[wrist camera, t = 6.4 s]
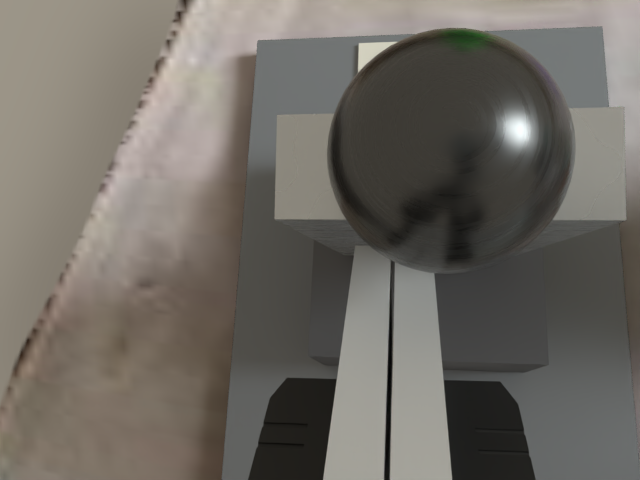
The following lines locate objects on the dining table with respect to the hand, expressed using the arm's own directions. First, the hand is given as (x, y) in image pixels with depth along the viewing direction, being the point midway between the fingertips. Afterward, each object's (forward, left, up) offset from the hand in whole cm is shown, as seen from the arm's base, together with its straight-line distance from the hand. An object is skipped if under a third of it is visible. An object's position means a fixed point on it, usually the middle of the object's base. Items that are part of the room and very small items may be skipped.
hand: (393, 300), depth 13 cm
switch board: (-3, -3, -14) cm, 14 cm away
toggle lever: (-3, -3, -8) cm, 9 cm away
